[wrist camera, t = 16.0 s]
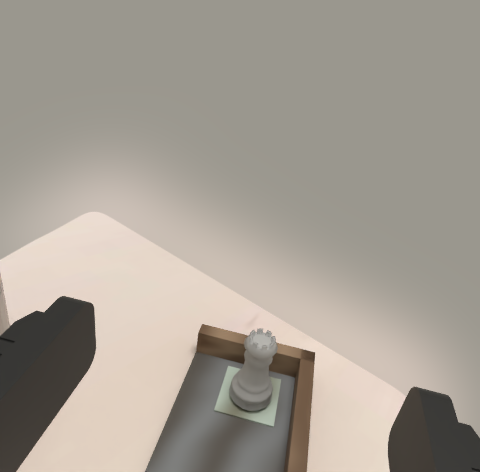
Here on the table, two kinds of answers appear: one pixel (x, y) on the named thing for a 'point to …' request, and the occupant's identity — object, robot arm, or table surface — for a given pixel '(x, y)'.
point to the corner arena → (237, 413)
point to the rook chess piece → (255, 372)
